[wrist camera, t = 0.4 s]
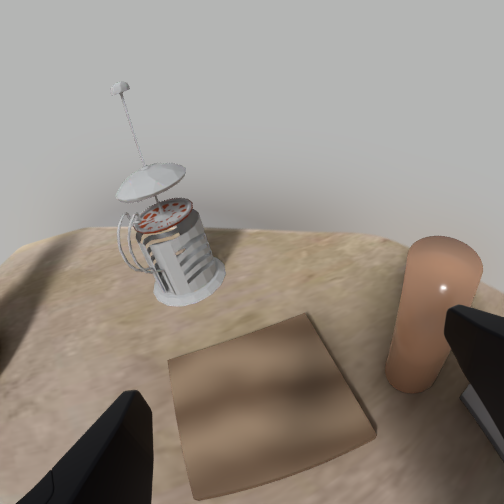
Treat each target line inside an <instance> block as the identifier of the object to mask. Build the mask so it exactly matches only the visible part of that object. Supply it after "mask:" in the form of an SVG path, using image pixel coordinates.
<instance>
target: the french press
mask: <svg viewBox="0 0 504 504" xmlns="http://www.w3.org/2000/svg"><path fill="white" fill-rule="evenodd" d="M129 89H130V88H129V85H128V84H127V83H126V82H117V83H116V84H114V85H113V86H112V88H111V95H112V96H113V95H115V94H118V93H119V94H120V95H121V99H122V102H123V105H124V109H125V112H126V115H127V118H128V121H129V124H130V127H131V130H132V134H133V137H134V140H135V143H136V146H137V149H138V151H139V154H140V157H141V160H142V163H143V167H142V168H141V169H139V170H138V171H136V172H134V173H133V174H131V175H130V176H129V177H128V178H127V179H126V180H125V181H124V182H123V183H122V185H121V187H120V188H119V190H118V192H117V194H116V198H117V199H118V200H119V201H120V202H123V203H134V202H139V201H142V200H145V199H148V198H151V197H154V196H155V199H156V202H157V204H154V205H152V206H149V208H147V209H145V211H143V212H141V213H140V214H138V213H137V212H136V213H134V214H133V216H132V218H130V216H129V214H128V213H127V212H126V213H124V214H123V215H122V217H121V219H120V221H119V224H118V230H117V238H118V246H119V251H120V253H121V255H122V257H123V259H124V261H125V262H126V263H127V264H128V266H129V267H130V268H132V269H134V270H135V271H141V272H143V271H144V272H145V273H151V274H153V275H154V277H155V279H156V281H155V284H154V294H155V296H156V298H157V300H158V301H160V302H162V303H163V304H165V305H167V306H181V307H182V306H186V305H190V304H194V303H197V302H199V301H201V300H203V299H204V298H206V297H208V296H210V295H211V294H212V293H213V292H214V291H215V290H216V289H217V288H218V287H219V286H220V285H221V284H222V282H223V279H224V277H225V274H226V272H225V266H224V264H223V263H222V262H221V261H220V260H219V259H218V258H216V257H213V255H212V251H211V250H210V246H209V243H208V242H207V237H206V234H205V233H204V228H203V225H202V222H201V219H200V216H199V213H198V212H197V211H196V210H194V209H192V208H193V207H192V202H191V201H190V200H188V199H185V198H176V199H175V198H174V199H173V198H172V199H169V200H166V201H165V200H164V201H162V202H158V199H157V197H156V195H158V194H160V193H162V192H164V191H166V190H168V189H170V188H171V187H173V186H174V185H176V184H177V183H179V181H180V180H181V179H182V178H183V177H184V175H185V173H186V168H185V167H183V166H182V165H178V164H175V163H158V164H157V163H156V164H152V165H149V166H147V165H146V166H145V163H144V160H143V157H142V154H141V151H140V148H139V145H138V142H137V139H136V136H135V133H134V130H133V127H132V124H131V121H130V118H129V114H128V111H127V108H126V105H125V101H124V98H123V95H122V93H123V91H126V90H129ZM124 215H127V217H128V219H129V220H130V223H129V228H128V245H129V250H130V253H131V255H132V257H133V259H134V262H135V264H136V265H137V266H138V267H139V268H140V269H136V268H135V267H134V266H132V265H131V264H130V263H129V262H128V260H127V258H126V257H125V255H124V253H123V252H122V248H121V244H120V225H121V222H122V220H123V217H124ZM135 215H137V217H136V219H135V221H133V219H134V217H135ZM131 223H134V224H133V227H134V229H135V230H136V231H137V233H136V240H137V242H138V244H139V246H140V248H141V251H142V253H143V255H144V257H145V259H146V261H147V263H148V265H149V268H145V269H144V268H143V267H142V266H141V265H140V264H139V263H138V262H137V260H136V258H135V256H134V254H133V252H132V247H131V241H130V232H131ZM175 225H176V226H177V228H175V229H174V230H172V231H169V232H165V233H161V234H156V235H151V236H148V237H147V238H145V239H144V241H143V244H141V243H140V241H141V237H142V235H143V234H150V233H158V232H162V231H164V230H167V229H169V228H171V227H173V226H175ZM178 232H179V234H180V236H179V237H177V238H175V239H173V240H169V241H165V242H161V243H155V244H152V245H149V246H150V247H148V248H147V250H146V247H145V246H146V244H147V243H148V242H149V241H151V240H155V239H161V238H165V237H169V236H172V235H174V234H176V233H178ZM203 235H204V236H205V238H204V236H203ZM206 243H207V244H208V247H207V244H206ZM184 248H185V249H186V250H185V251H184V252H183V253H182V254H180V255H176V254H175V253H176V252H177V251H179V250H182V249H184ZM151 251H152V253H153V255H152V256H151V258H150V256H149V254H150V252H151ZM209 252H210V253H211V255H210V253H209ZM154 259H156V261H157V263H155V266H154V265H153V260H154ZM149 269H150V270H151V271H147V270H149Z"/></svg>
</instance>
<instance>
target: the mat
mask: <svg viewBox="0 0 504 504" xmlns="http://www.w3.org/2000/svg"><path fill="white" fill-rule="evenodd" d="M168 367H169V375H170V382H171V388H172V395H173V401H174V407H175V413H176V419H177V425H178V430H179V435H180V440H181V445H182V450H183V455H184V460H185V464H186V469H187V473H188V478H189V482H190V486H191V490H192V494H193V498H194V499H195V500H198V501H200V500H205V499H210V498H215V497H219V496H224V495H228V494H232V493H236V492H240V491H244V490H248V489H251V488H255V487H258V486H262V485H265V484H268V483H271V482H274V481H277V480H280V479H283V478H286V477H289V476H292V475H295V474H297V473H300V472H303V471H305V470H308V469H311V468H313V467H316V466H318V465H321V464H323V463H325V462H328V461H330V460H332V459H335V458H337V457H339V456H341V455H343V454H346V453H348V452H350V451H352V450H354V449H356V448H358V447H360V446H362V445H364V444H366V443H368V442H370V441H372V440H374V439H375V438H376V436H377V434H376V432H375V431H374V429H373V427H372V426H371V424H370V422H369V420H368V419H367V417H366V415H365V413H364V412H363V410H362V408H361V407H360V405H359V403H358V402H357V400H356V398H355V396H354V395H353V393H352V391H351V390H350V388H349V386H348V384H347V383H346V381H345V379H344V378H343V376H342V374H341V373H340V371H339V369H338V368H337V366H336V364H335V362H334V361H333V359H332V357H331V356H330V354H329V352H328V351H327V349H326V347H325V346H324V344H323V342H322V341H321V339H320V337H319V336H318V334H317V332H316V331H315V329H314V327H313V326H312V324H311V322H310V321H309V319H308V317H307V316H306V314H305V313H303V314H301V315H298V316H296V317H293V318H290V319H288V320H285V321H282V322H280V323H277V324H274V325H272V326H269V327H266V328H264V329H261V330H258V331H255V332H252V333H250V334H247V335H244V336H241V337H238V338H235V339H232V340H229V341H226V342H223V343H220V344H217V345H214V346H211V347H208V348H205V349H202V350H199V351H196V352H193V353H189V354H186V355H183V356H180V357H176V358H173V359H170V360H168Z"/></svg>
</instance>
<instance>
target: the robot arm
mask: <svg viewBox="0 0 504 504" xmlns="http://www.w3.org/2000/svg"><path fill="white" fill-rule="evenodd" d="M444 336H445V339H446V341H447V342H448V344H449V346H450V348H451V350H452V352H453V353H454V355H455V357H456V359H457V361H458V363H459V365H460V367H461V369H462V371H463V372H464V374H465V376H466V378H467V379H468V381H469V382H470V384H471V386H472V387H473V389H474V390H475V392H476V393H477V395H478V397H479V398H480V400H481V402H482V403H483V405H484V406H485V408H486V410H487V411H488V413H489V415H490V417H491V418H492V420H493V422H494V423H495V425H496V427H497V429H498V430H499V432H500V434H501V436H502V438H503V439H504V317H501V316H497V315H494V314H491V313H487V312H484V311H481V310H477V309H474V308H471V307H467V306H464V305H460V304H458V305H455V306H453V307H450V308H449V309H448V310H447V312H446V318H445V325H444ZM153 461H154V457H153V427H152V411H151V409H150V407H149V405H148V404H147V402H146V401H145V399H144V398H143V396H142V395H141V393H140V392H139V391H137V390H129V391H124V392H123V393H122V394H121V395H120V396H119V397H118V398H117V399H116V400H115V401H114V402H113V403H112V405H111V406H110V407H109V408H108V409H107V410H106V411H105V412H104V413H103V414H102V415H101V416H100V417H99V419H98V420H97V421H96V422H95V423H94V424H93V425H92V426H91V427H90V428H89V429H88V430H87V431H86V432H85V434H84V435H83V436H82V437H81V438H80V439H79V440H78V441H77V442H76V443H75V444H74V445H73V446H72V448H71V449H70V450H69V451H68V452H67V453H66V454H65V455H64V456H63V457H62V458H61V459H60V460H59V461H58V463H57V464H56V465H55V466H54V467H53V468H52V470H50V471H49V472H48V473H47V474H46V475H45V476H44V477H43V478H42V480H41V481H40V482H39V483H38V484H37V485H36V486H35V487H34V488H33V489H32V490H30V491H29V492H28V493H27V494H26V495H25V496H24V497H23V498H22V499H20V500H19V501H18V502H17V503H16V504H151V498H152V479H153Z"/></svg>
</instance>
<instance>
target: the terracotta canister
mask: <svg viewBox="0 0 504 504" xmlns="http://www.w3.org/2000/svg"><path fill="white" fill-rule="evenodd" d="M482 273H483V265H482V262H481V259H480V257H479V256H478V254H477V253H476V252H475V251H474V250H473V249H472V248H471V247H470V246H468V245H467V244H465V243H463V242H461V241H459V240H457V239H454V238H450V237H445V236H430V237H425V238H422V239H420V240H418V241H416V242H415V243H414V244H413V245H412V246H411V247H410V249H409V251H408V256H407V263H406V270H405V276H404V282H403V288H402V293H401V299H400V304H399V309H398V314H397V319H396V323H395V328H394V332H393V336H392V341H391V345H390V349H389V353H388V357H387V360H386V364H385V374H386V377H387V379H388V381H389V382H390V384H391V385H392V386H393V387H394V388H396V389H397V390H399V391H401V392H405V393H419V392H422V391H424V390H426V389H428V388H429V387H430V386H431V385H432V384H433V383H434V382H435V380H436V378H437V376H438V374H439V373H440V371H441V369H442V367H443V365H444V363H445V361H446V359H447V357H448V355H449V353H450V351H451V348H450V346H449V344H448V342H447V341H446V339H445V336H444V325H445V318H446V312H447V310H448V309H449V308H450V307H453V306H455V305H458V304H460V305H464V306H467V307H470V306H471V304H472V301H473V298H474V296H475V293H476V290H477V288H478V285H479V282H480V279H481V276H482Z"/></svg>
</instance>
